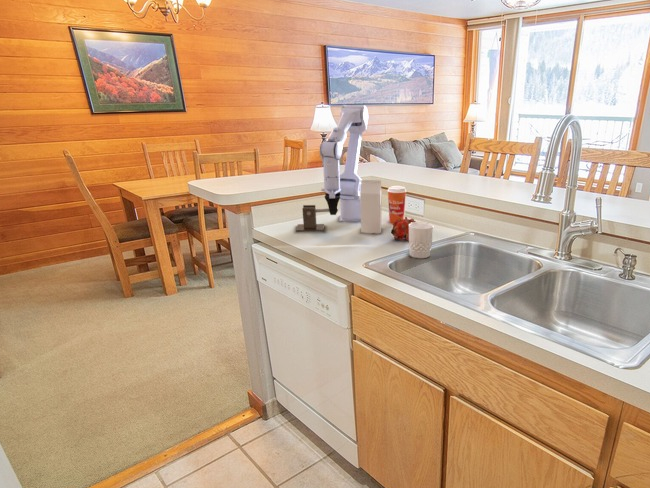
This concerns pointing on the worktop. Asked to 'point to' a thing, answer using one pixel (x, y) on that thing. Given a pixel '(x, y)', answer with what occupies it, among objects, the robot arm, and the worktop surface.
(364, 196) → the milk carton
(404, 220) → the dragon fruit
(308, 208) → the faucet bracket
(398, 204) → the paper cup
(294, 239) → the worktop surface
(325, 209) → the faucet lever
